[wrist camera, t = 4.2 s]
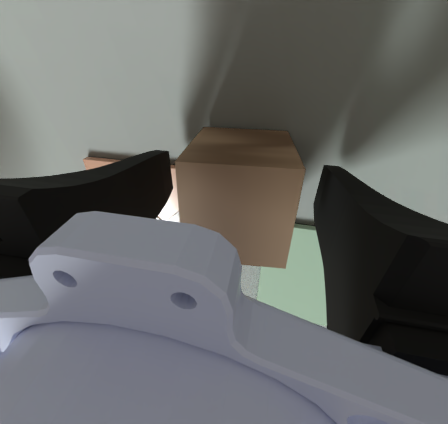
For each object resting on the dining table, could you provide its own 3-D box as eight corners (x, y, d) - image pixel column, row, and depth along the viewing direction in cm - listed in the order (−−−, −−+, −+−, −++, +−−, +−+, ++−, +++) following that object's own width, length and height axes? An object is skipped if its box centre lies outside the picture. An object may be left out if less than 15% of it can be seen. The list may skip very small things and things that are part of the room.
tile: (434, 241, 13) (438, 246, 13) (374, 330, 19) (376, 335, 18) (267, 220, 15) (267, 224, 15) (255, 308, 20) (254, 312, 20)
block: (287, 130, 12) (305, 169, 7) (276, 205, 14) (285, 268, 9) (203, 126, 12) (174, 161, 8) (205, 199, 14) (182, 258, 10)
